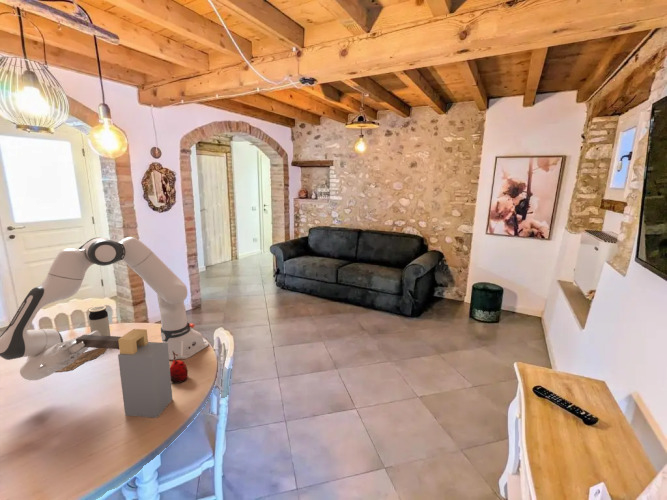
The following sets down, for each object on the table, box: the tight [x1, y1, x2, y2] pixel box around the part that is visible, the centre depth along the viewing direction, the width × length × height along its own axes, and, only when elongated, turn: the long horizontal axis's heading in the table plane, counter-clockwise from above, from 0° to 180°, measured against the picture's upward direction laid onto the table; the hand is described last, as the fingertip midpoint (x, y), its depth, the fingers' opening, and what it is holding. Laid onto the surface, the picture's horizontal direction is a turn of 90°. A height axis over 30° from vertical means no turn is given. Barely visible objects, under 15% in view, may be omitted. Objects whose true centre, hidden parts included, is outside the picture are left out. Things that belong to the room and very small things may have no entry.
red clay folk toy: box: [170, 351, 189, 384], centre depth 137 cm, size 8×7×15 cm
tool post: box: [117, 328, 173, 419], centre depth 118 cm, size 12×10×30 cm
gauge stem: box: [76, 334, 122, 350], centre depth 117 cm, size 20×4×3 cm, turn 86°
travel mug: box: [88, 305, 111, 336], centre depth 168 cm, size 8×8×18 cm
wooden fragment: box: [55, 348, 108, 373], centre depth 153 cm, size 26×11×1 cm, turn 163°
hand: (90, 339), depth 117 cm, fingers closed on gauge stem, 3 cm apart
